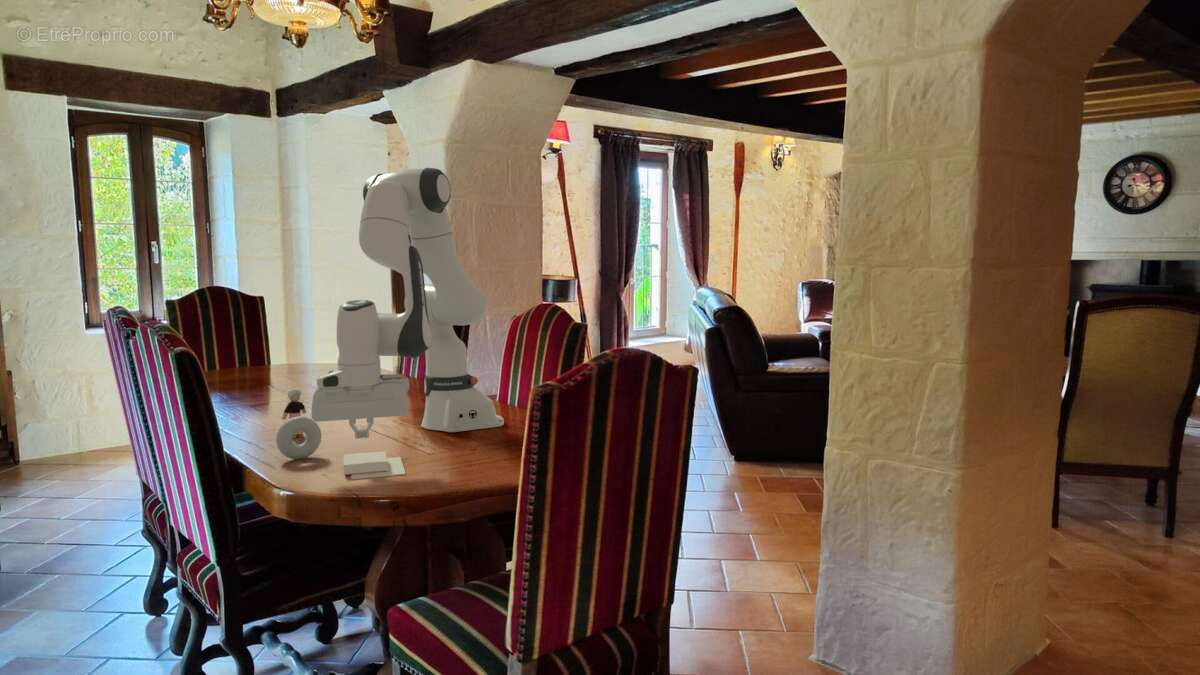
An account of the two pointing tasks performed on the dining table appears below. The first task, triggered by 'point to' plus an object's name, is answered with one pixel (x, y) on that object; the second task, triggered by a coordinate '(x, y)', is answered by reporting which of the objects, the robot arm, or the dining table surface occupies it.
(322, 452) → the dining table surface
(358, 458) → the tile
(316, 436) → the donut
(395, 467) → the placemat
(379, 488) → the dining table surface
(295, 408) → the grandmother figurine
